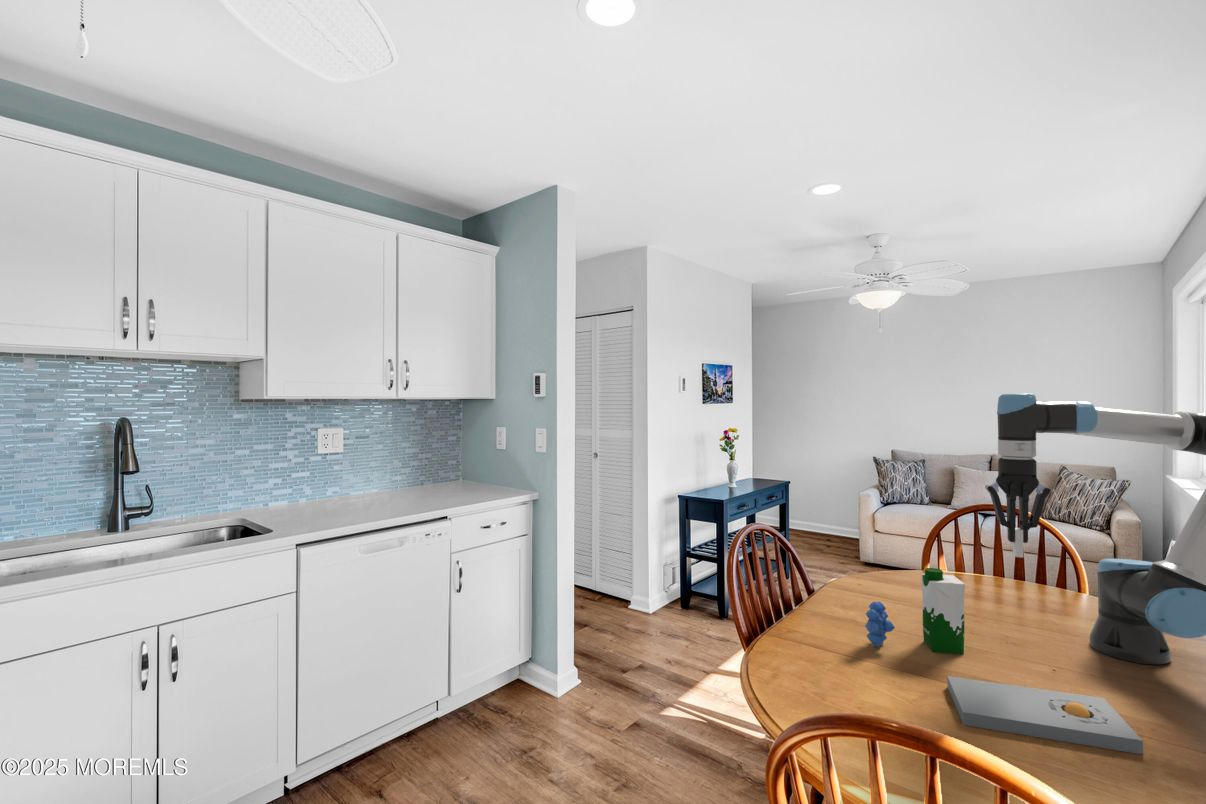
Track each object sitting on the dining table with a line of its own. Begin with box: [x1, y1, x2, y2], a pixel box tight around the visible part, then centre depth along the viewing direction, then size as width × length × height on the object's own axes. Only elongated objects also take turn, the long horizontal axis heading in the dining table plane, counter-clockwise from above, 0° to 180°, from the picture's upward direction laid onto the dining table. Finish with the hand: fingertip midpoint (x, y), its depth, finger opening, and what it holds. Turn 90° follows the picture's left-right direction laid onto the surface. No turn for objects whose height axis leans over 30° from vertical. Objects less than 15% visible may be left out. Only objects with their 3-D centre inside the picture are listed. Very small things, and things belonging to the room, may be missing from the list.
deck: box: [946, 675, 1144, 755], centre depth 117 cm, size 28×16×2 cm, turn 69°
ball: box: [1064, 702, 1090, 718], centre depth 115 cm, size 4×4×4 cm
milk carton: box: [920, 567, 966, 656], centre depth 150 cm, size 9×9×20 cm
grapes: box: [864, 601, 895, 648], centre depth 151 cm, size 12×7×12 cm, turn 139°
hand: (1017, 555), depth 140 cm, fingers closed
